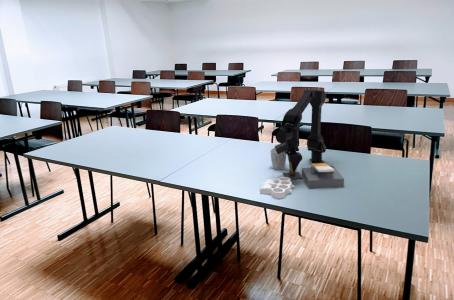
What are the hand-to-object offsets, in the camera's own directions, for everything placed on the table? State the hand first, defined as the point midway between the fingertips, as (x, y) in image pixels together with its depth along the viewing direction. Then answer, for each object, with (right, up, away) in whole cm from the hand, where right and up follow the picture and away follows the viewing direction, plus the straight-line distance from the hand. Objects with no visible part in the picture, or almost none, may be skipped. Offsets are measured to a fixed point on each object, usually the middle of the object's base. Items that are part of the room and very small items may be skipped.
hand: (292, 167), depth 172 cm
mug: (-4, 0, +15) cm, 15 cm away
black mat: (0, -4, +1) cm, 5 cm away
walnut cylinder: (0, -4, +1) cm, 4 cm away
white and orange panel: (+13, +1, -8) cm, 15 cm away
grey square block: (+13, -6, -5) cm, 15 cm away
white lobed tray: (-9, -10, -12) cm, 18 cm away
